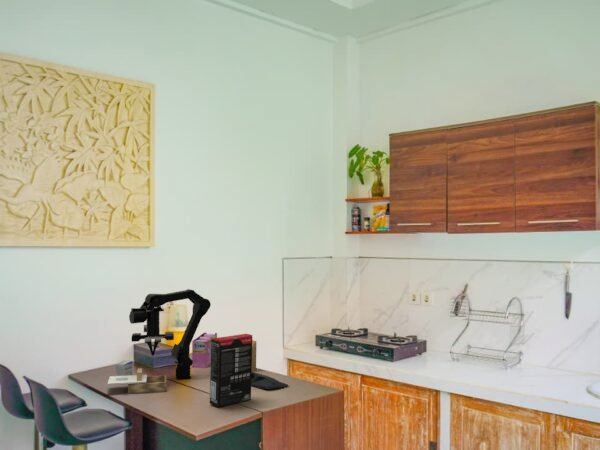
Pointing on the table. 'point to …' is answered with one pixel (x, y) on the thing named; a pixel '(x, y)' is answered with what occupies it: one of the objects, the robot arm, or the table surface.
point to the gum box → (202, 350)
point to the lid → (128, 379)
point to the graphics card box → (230, 369)
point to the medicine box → (124, 368)
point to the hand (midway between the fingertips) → (152, 355)
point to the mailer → (149, 385)
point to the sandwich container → (253, 355)
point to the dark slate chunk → (265, 381)
